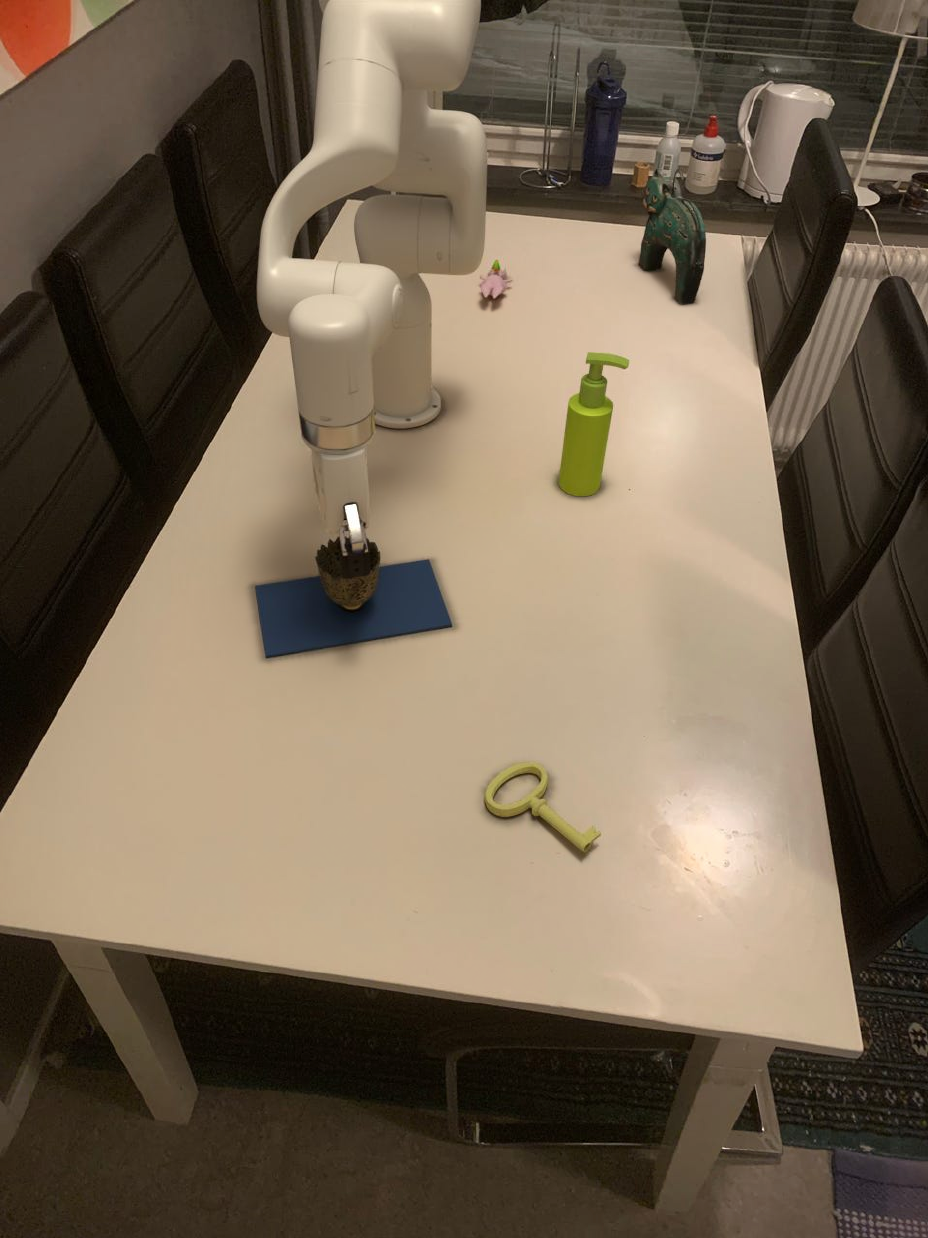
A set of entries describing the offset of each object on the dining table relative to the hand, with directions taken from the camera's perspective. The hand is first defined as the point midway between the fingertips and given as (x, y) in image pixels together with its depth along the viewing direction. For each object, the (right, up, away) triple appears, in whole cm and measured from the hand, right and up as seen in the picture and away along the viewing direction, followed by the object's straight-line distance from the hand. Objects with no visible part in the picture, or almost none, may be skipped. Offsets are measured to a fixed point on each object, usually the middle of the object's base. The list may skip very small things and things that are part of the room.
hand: (348, 546), depth 105 cm
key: (+21, -28, -13) cm, 37 cm away
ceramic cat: (+52, +56, +71) cm, 105 cm away
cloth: (0, -7, +6) cm, 9 cm away
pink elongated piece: (+19, +52, +65) cm, 86 cm away
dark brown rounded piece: (0, -7, +6) cm, 9 cm away
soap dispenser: (+30, +11, +25) cm, 40 cm away
